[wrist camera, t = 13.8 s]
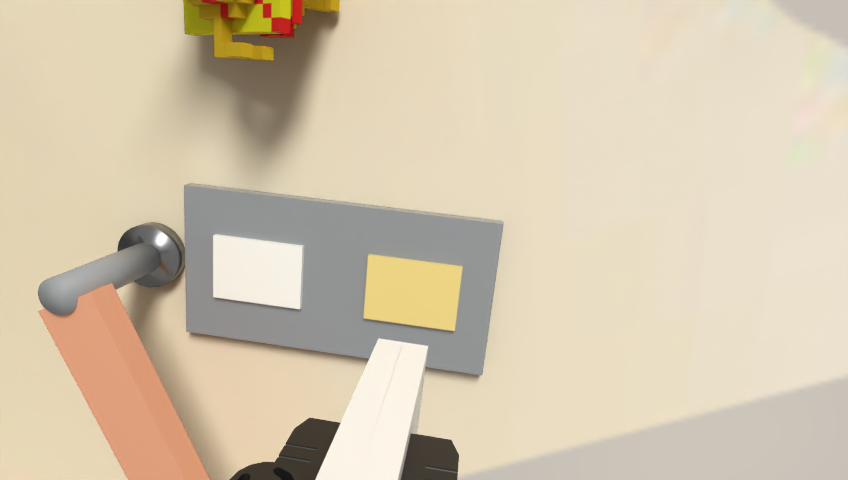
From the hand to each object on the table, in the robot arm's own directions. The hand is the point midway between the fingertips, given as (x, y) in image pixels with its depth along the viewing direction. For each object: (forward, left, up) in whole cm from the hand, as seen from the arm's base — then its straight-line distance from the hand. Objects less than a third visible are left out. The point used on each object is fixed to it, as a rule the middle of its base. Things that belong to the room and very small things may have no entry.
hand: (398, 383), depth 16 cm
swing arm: (-18, -16, -23) cm, 33 cm away
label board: (-8, -6, -24) cm, 26 cm away
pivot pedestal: (-23, -6, -24) cm, 34 cm away
